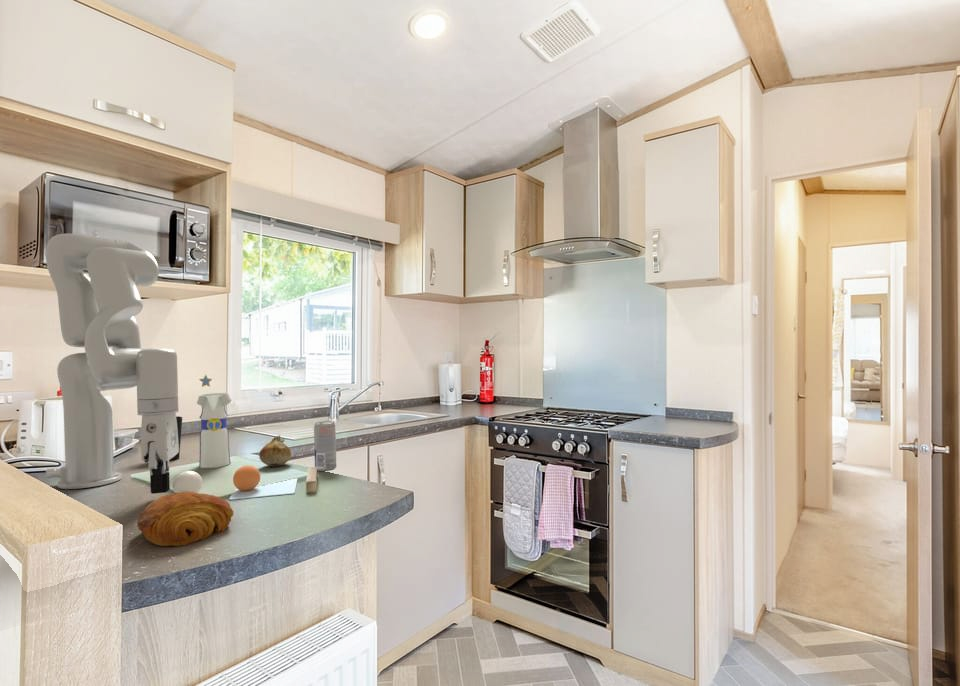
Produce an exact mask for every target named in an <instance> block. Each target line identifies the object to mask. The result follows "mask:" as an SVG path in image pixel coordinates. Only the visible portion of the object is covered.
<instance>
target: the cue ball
mask: <svg viewBox="0 0 960 686" xmlns="http://www.w3.org/2000/svg"><path fill="white" fill-rule="evenodd" d="M202 478H203V477H202V476H201V475H200V474H199V473H198V472H196V471H193V470H186V471H183V472H181V473H179V474H178V475H177V476H175V478H174V480H173V482H172V483H173V484H172V489H173V491H174V492H173V493H179V492H184V491H188V492H195V493H198V494H199V492H200V490H202V488H203V479H202Z"/></svg>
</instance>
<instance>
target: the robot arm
mask: <svg viewBox="0 0 960 686" xmlns="http://www.w3.org/2000/svg"><path fill="white" fill-rule="evenodd" d="M45 248H46V249H45V263H46V267H47V270H48V273H49V276H50V278H51V280H52V282H53V284H54V285H53V286H54V287H55V290H56V293H57V294H56V295H57V305H58V313H59V324H60V331H61V336H62V339H63V341H64V342H65V344H66V345H68V346H69V347H74V348H84V351H85V352H78V353H77V352H76V353H71V354H69V355H67V356H64V357H63V358H62V359H61V360H60V361H59V363H58V365H57V368H56V369H57V370H56V372H57V378H58V383H59V386H60V392H61V397H62V407H63V434H64V435H63V436H64V438H63V439H64V440H63V441H64V466H62V467H59V468H58V467H57V468H47V469H46V470H45V477H46V478H47V479H51V478H52V479H54V478H55V479H56V478H59V479H60V480H59V481H57V482H56V484H57V485H56V487H57V488H58V489H63V490H77V489H87V488H88V489H89V488H94V487H100V486H105V485H108V484H112V483H116V482H118V481H119V480H121V479H122V472H119V471H115V466H114V465H115V463H114V433H113V430H114V429H113V426H114V425H113V408H112V406H111V403H110V402H109V401H108V399H106V397H105V396H104V395H103V394H102V393H101V392H105V391H114V390H115V391H116V390H125V389H131V388H135V387H136V399H137V400H136V403H137V405H136V406H137V416H141V424H140V426H141V428H140V455H141V460H142V462H144V463H148V470H149V475H150V477H149V478H150V480H149V481H150V482H149V483H150V493H151V494H163V493H164V494H165V493H168V491H170V488H171V487H170V483H171V482H170V461H169V460H170V459H171V458H173V457H174V456H175V455H177V454H178V452H179V441H178V428H177V419H176V416H177V414H176V413H178V412H179V383H178V381H179V379H178V375H179V374H178V355H177V352H176V351H175V350H173V349H170V348H152V347H151V348H149V347H148V348H147V347H145V348H142V344H141V335H140V328H139V325H138V321H137V320H136V317H135V316H137V315H139V314H140V313H141V312H142V310H143V307H144V302H143V301H142V297H141V294H140V292H139V287H138V286H140V287H149V286H153V285H154V284H155V283H157V280H158V279H159V278H158V277H159V273H160V272H159V264H158V262H157V260H156V258H155V257H154V256H153V255H152V254H151V253H150V252H149V251H147V250H146V249H144V248H142V247H140V246H138V245H136V244H134V243H132V242H130V241H127V240H121V239H117V238H116V239H115V238H108V237H100V236H97V235H96V236H95V235H89V234H81V233H60V234H56V235H54V236H52V237H50V239H49V240H48V242H47V245H46V247H45ZM84 271H87V273H88V275H87V274H86V273H85V272H84Z"/></svg>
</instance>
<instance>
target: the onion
mask: <svg viewBox="0 0 960 686" xmlns="http://www.w3.org/2000/svg"><path fill="white" fill-rule="evenodd" d="M285 440H286V439H285V438H283V437H281V435H277V436H274V437H273V438H272V439H271V440H270V441H268V442H267V444H265V445H264V446H263V447H262V448H261V450H260V451H259V455H258V457H259V460H260V461H261V462H262V463H263V464H264V465H266V466H268V467H272V468H274V467H276V468H277V467H280V466H284V465H285V464H286V463H288V462H289V461H290V460H291V456H292V452H291V449H290V447H289V446H288V445H286V444H285V443H284V442H285Z"/></svg>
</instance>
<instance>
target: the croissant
mask: <svg viewBox="0 0 960 686" xmlns="http://www.w3.org/2000/svg"><path fill="white" fill-rule="evenodd" d="M233 516H234V510H233V508H232V507H231V505H230V503H229V502H228V501H227V500H226V499H223V498H221V497H219V496H216V495H214V494H213V495H212V494H207V493H199V492H198V493H195V492H188V491H184V492H179V493H175V492H173V493H171V494H164V495H163V496H161V497H159V498H157V499H155V500H153V501H151V502H150V503H148V504H147V505H146V506H145V507H144V509H143V510H142V511H141V513H140V514H139V517H138V519H137V522H136V526H137V528H138V530H139V531H140V532H141V533H142V535H143V536H144V537H145V539H146V540H147V541H148V542H151V543H152V544H154V545H156V546H161V547H163V546H164V547H170V546H175V547H176V546H177V547H180V546H187V545H189V544H191V543H195V542H198V541H200V540H205V539H206V538H209V537H211V535H217V534H220V533H223V532H225V530H226V529H227V527H228V526H229V525H230V524H231V523H230V522H231V521H232V517H233Z"/></svg>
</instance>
